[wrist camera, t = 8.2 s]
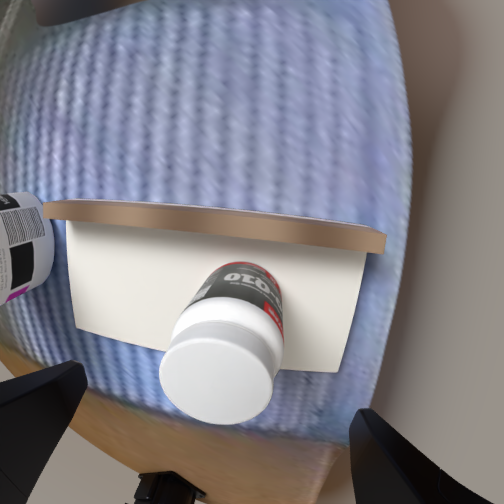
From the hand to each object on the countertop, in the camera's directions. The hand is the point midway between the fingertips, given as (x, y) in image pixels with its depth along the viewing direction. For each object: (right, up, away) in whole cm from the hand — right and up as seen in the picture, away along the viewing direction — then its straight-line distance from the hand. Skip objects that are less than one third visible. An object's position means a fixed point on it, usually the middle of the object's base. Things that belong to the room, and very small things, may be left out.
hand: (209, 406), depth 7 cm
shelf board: (-2, +3, +11) cm, 11 cm away
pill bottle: (+1, +2, +10) cm, 10 cm away
